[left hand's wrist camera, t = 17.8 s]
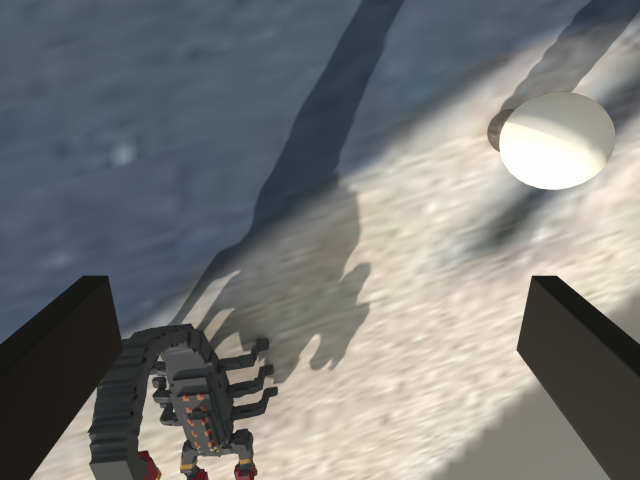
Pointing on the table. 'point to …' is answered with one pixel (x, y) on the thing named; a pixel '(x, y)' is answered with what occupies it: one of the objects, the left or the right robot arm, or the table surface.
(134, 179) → the table surface
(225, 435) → the toy
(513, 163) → the light bulb
